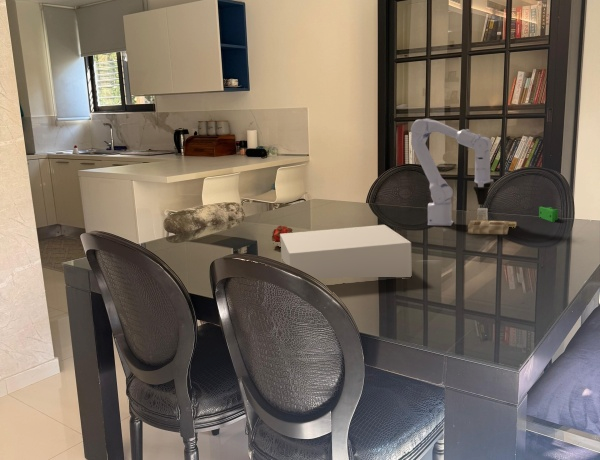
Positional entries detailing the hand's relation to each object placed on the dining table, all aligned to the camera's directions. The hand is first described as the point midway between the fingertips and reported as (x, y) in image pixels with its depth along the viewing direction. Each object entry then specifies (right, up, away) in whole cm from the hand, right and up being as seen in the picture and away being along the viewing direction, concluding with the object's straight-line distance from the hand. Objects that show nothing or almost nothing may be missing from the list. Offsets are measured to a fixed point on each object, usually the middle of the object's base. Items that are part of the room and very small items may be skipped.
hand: (482, 202), depth 223 cm
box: (-59, -24, -48) cm, 80 cm away
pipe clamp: (+30, -7, +7) cm, 31 cm away
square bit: (+1, -9, +2) cm, 9 cm away
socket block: (0, -11, -7) cm, 13 cm away
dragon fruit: (-78, -17, -12) cm, 81 cm away
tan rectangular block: (+9, -10, -2) cm, 14 cm away
